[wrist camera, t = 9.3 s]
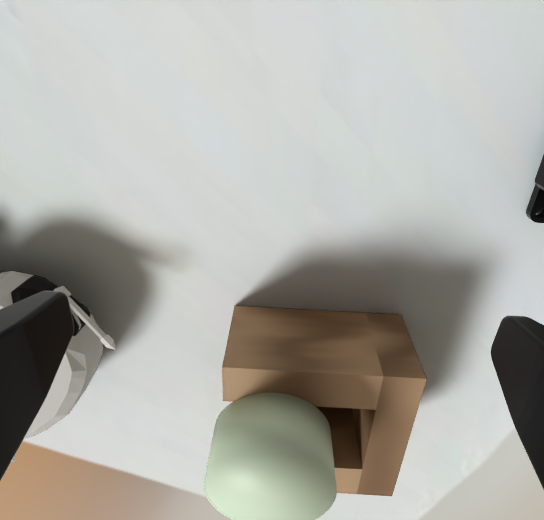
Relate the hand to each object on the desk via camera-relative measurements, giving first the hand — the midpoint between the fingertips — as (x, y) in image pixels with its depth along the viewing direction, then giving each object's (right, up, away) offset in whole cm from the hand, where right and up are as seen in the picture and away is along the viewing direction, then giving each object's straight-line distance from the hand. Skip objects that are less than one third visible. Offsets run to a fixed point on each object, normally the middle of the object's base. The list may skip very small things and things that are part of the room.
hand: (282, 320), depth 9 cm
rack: (+2, -6, +17) cm, 18 cm away
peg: (0, -6, +15) cm, 17 cm away
